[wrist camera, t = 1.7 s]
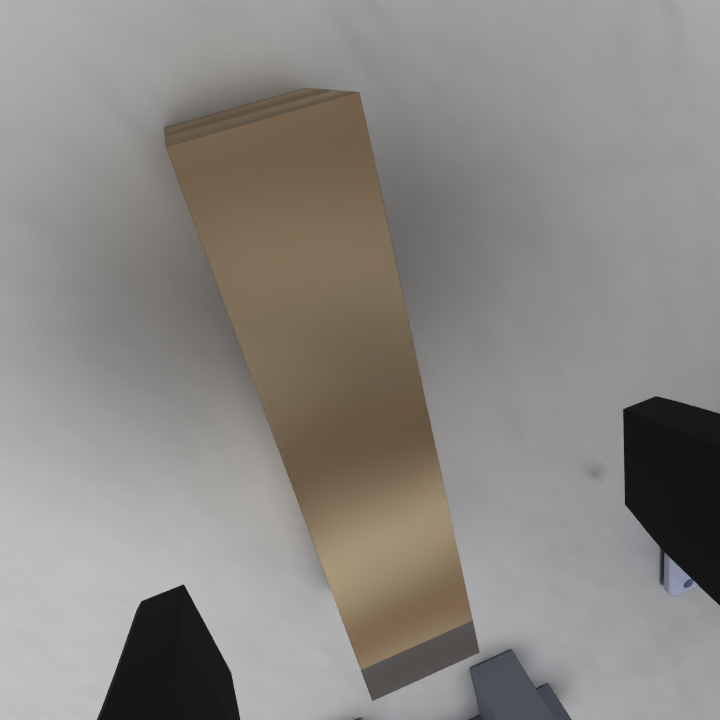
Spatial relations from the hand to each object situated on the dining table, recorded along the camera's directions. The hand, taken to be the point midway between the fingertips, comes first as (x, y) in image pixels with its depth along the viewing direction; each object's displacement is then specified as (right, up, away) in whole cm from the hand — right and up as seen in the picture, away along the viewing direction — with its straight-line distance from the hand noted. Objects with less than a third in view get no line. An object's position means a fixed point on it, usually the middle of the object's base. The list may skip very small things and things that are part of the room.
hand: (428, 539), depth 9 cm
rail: (-2, +2, +9) cm, 9 cm away
